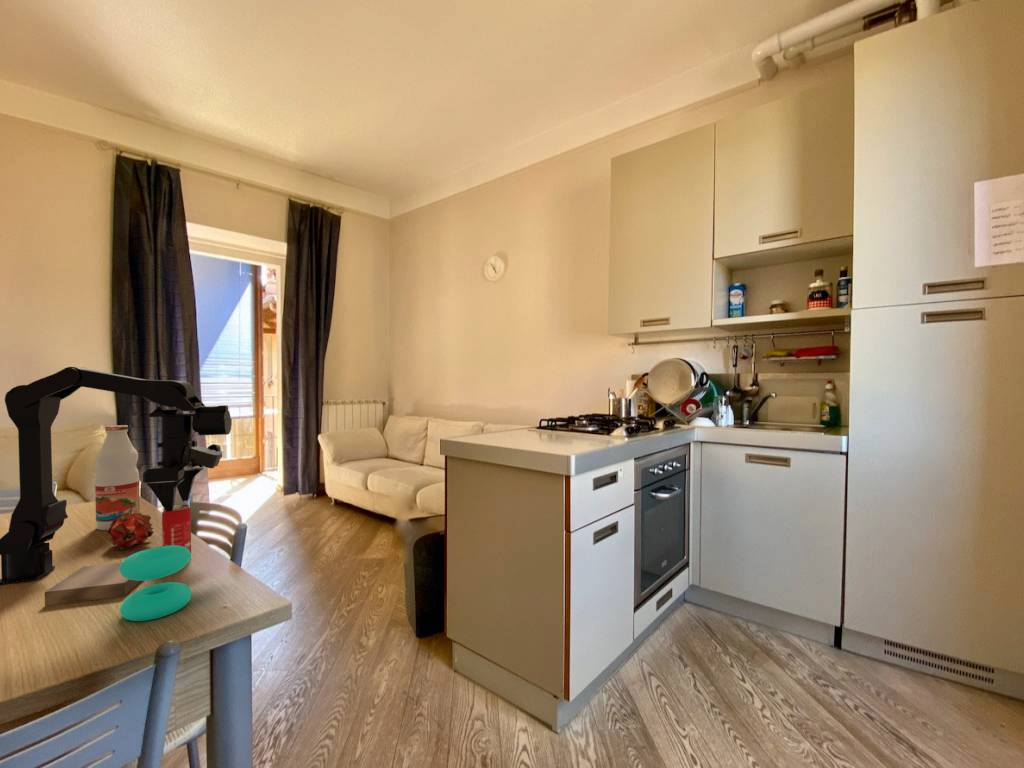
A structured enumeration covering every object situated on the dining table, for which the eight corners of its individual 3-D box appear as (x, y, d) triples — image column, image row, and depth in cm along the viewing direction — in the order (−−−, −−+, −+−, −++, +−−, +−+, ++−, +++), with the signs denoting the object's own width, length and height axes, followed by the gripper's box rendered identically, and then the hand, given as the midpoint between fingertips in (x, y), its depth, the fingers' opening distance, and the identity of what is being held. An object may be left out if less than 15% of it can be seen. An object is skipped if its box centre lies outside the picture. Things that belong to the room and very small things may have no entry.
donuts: (183, 558, 79) (109, 568, 75) (184, 616, 79) (110, 630, 75) (196, 539, 88) (130, 548, 84) (197, 592, 88) (131, 602, 84)
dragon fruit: (137, 543, 119) (133, 564, 110) (101, 530, 115) (93, 551, 105) (160, 514, 121) (159, 533, 112) (126, 500, 117) (121, 518, 107)
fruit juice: (147, 519, 135) (145, 423, 134) (128, 529, 126) (126, 427, 125) (109, 521, 133) (107, 424, 132) (87, 532, 123) (85, 428, 123)
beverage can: (176, 565, 100) (175, 511, 100) (156, 564, 101) (155, 509, 101) (197, 556, 105) (196, 504, 105) (178, 555, 107) (177, 503, 106)
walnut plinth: (44, 605, 83) (44, 592, 83) (83, 578, 94) (83, 566, 94) (125, 595, 86) (125, 582, 86) (153, 570, 98) (153, 558, 98)
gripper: (204, 440, 97) (205, 513, 97) (229, 430, 115) (230, 493, 115) (141, 442, 93) (142, 519, 94) (177, 432, 111) (177, 496, 111)
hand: (177, 505), depth 103 cm, fingers open, 9 cm apart
